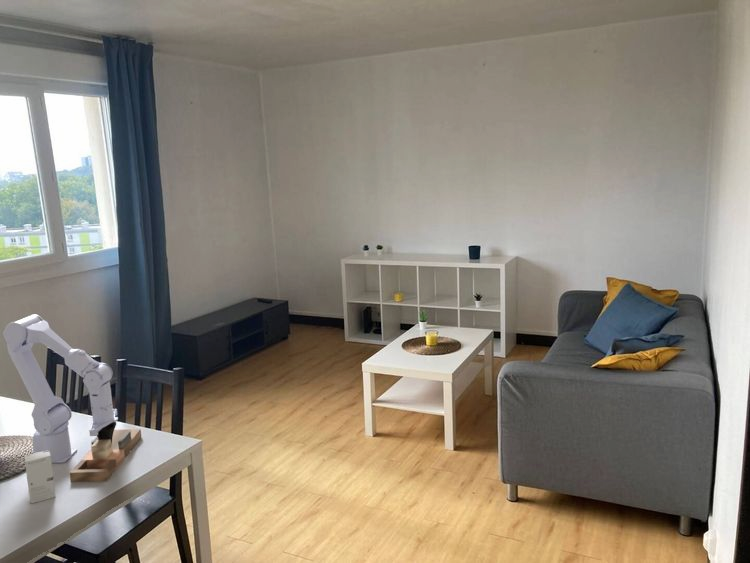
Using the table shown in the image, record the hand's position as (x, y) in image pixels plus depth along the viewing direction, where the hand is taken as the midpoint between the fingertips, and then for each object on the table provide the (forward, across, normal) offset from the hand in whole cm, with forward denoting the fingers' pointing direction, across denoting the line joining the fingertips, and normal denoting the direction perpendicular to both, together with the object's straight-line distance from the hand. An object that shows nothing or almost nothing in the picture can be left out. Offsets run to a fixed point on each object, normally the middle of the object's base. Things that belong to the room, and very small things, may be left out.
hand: (107, 447), depth 179 cm
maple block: (+1, -4, 0) cm, 4 cm away
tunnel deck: (+4, 0, 0) cm, 4 cm away
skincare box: (+4, -20, +9) cm, 22 cm away
